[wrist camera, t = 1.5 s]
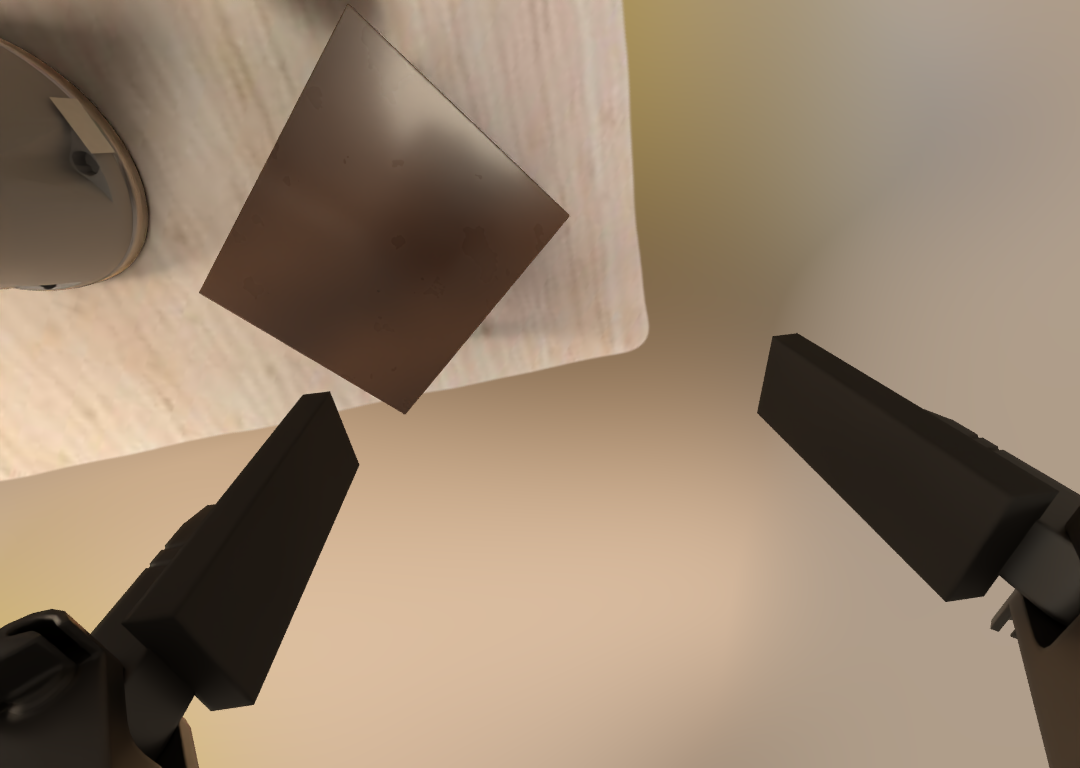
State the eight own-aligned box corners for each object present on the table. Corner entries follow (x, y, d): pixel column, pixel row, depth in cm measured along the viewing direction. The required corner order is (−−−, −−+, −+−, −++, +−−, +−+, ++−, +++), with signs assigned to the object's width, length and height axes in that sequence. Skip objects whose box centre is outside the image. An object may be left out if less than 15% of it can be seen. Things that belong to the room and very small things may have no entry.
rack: (299, 246, 31) (198, 293, 21) (407, 62, 27) (347, 2, 16) (433, 339, 36) (405, 414, 25) (546, 195, 31) (570, 215, 21)
